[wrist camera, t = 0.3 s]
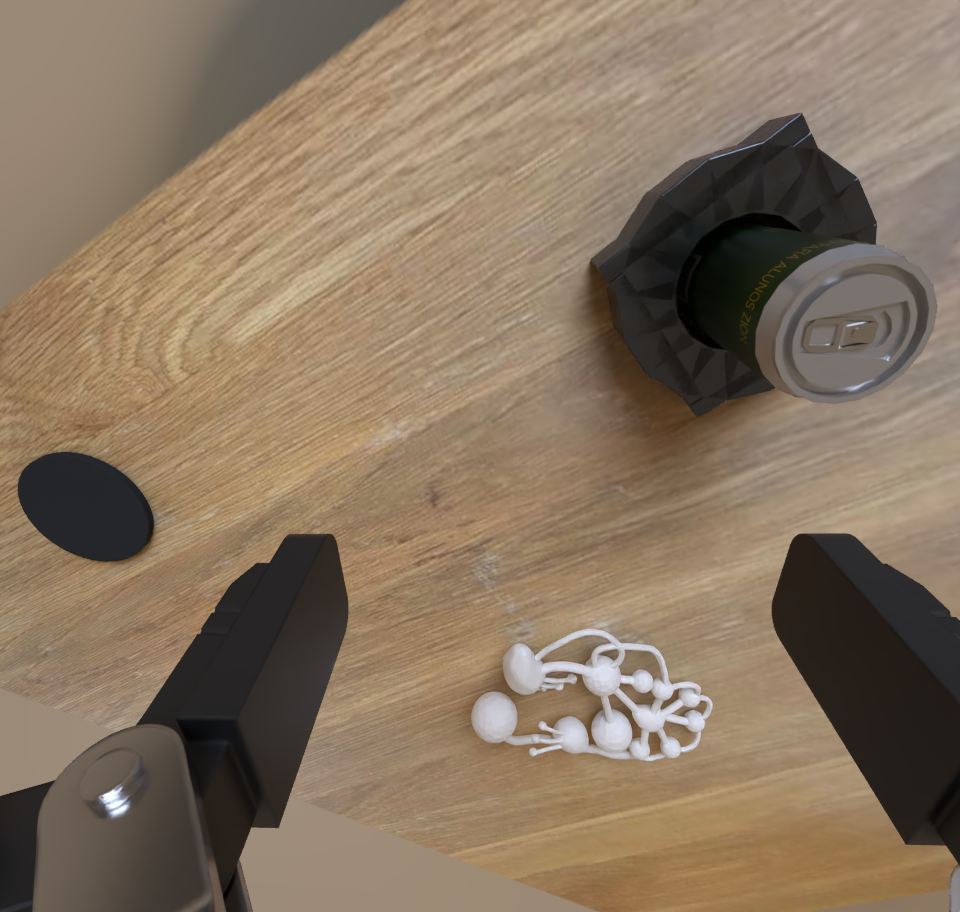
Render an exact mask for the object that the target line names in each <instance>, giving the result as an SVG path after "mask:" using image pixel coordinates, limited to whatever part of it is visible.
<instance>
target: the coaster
mask: <svg viewBox="0 0 960 912" xmlns="http://www.w3.org/2000/svg"><path fill="white" fill-rule="evenodd" d="M18 496H19V500H20V503H21V506H22V508H23V510H24V512H25V514H26V516H27V517H28V519H29V520H30V521H31V523H32V524H33V525H34V526H35V527H36V528H37V530H38V531H39V532H41V533H42V534H43V535H44V536H45V537H46V538H47V539H49V540H50V541H51V542H53V543H54V544H56V545H57V546H59V547H61V548H62V549H64V550H66V551H68V552H70V553H73V554H75V555H77V556H80V557H83V558H87V559H91V560H96V561H107V562H108V561H119V560H124V559H127V558H129V557H132V556H134V555H135V554H137V553H138V552H139V551H140V550H141V549H142V548H143V547H144V546H145V545H146V544H147V543H148V541H149V540H150V538H151V535H152V531H153V516H152V512H151V509H150V507H149V505H148V502H147V500H146V499H145V497H144V496H143V494H142V493H141V491H140V490H139V489H138V488H137V486H136V485H135V484H134V483H133V482H132V481H131V480H130V479H129V478H127V477H126V476H125V475H124V474H123V473H121V472H120V471H118V470H117V469H115V468H114V467H112V466H110V465H109V464H107V463H105V462H103V461H101V460H98V459H96V458H93V457H90V456H87V455H83V454H78V453H71V452H58V453H52V454H47V455H45V456H42V457H40V458H38V459H37V460H35V461H33V462H32V463H30V464H29V465H28V466H27V467H26V468H25V469H24V470H23V472H22V473H21V476H20V478H19V482H18Z"/></svg>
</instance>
